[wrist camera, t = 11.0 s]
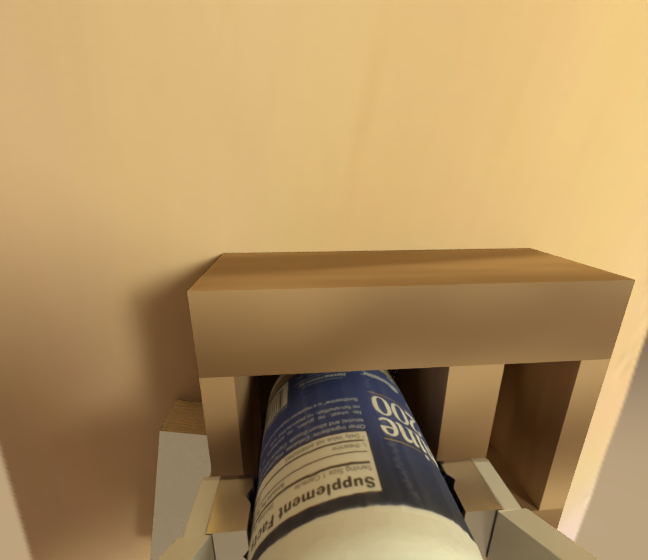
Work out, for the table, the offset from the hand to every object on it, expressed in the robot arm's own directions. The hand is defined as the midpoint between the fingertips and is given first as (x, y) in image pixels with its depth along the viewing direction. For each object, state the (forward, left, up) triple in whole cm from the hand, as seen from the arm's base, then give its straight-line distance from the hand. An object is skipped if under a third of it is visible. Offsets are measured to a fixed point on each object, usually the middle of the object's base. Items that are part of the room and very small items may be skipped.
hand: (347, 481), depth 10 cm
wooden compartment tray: (0, +2, -6) cm, 6 cm away
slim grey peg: (+5, -7, -6) cm, 10 cm away
